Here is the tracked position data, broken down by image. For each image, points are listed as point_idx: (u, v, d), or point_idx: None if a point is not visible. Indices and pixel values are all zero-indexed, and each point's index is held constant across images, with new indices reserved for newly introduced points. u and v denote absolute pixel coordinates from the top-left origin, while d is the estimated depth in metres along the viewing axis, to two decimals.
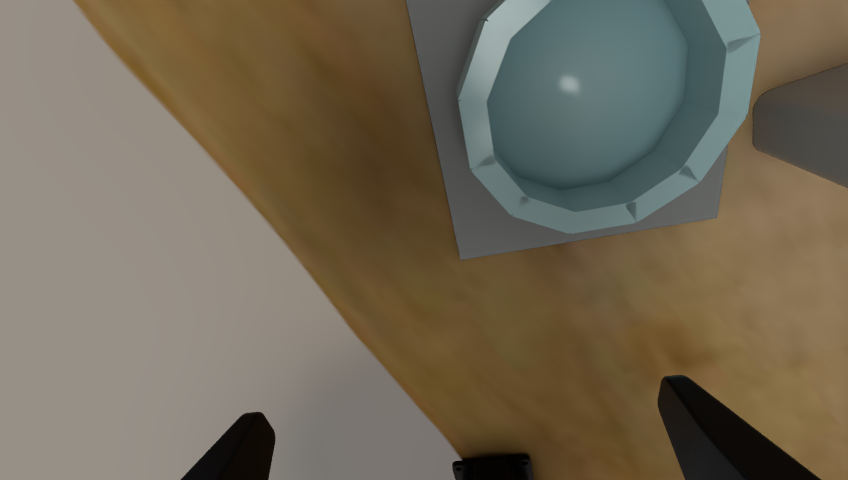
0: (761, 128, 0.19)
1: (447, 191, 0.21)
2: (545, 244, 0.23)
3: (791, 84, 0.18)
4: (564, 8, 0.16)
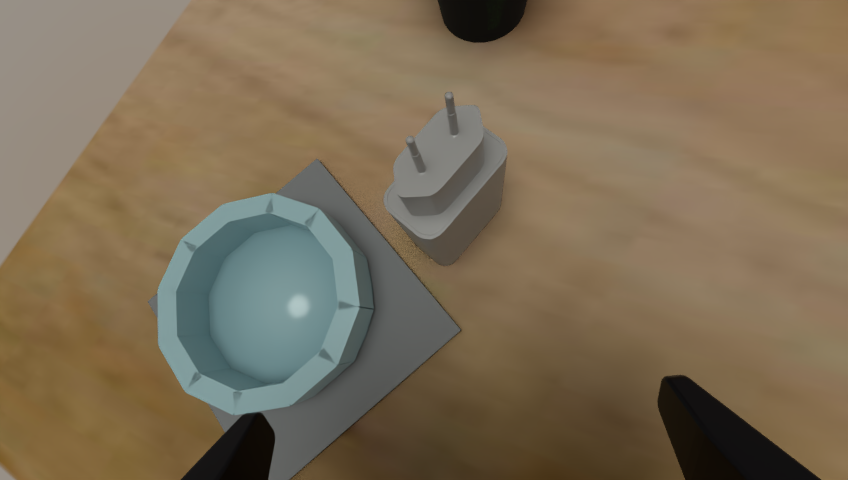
0: (424, 251, 0.23)
1: (224, 429, 0.23)
2: None
3: None
4: (238, 260, 0.24)
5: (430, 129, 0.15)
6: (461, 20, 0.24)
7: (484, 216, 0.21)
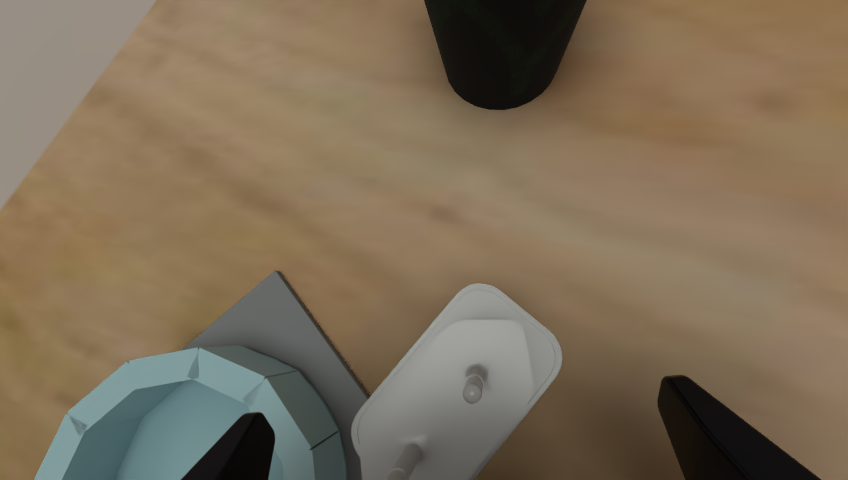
0: None
1: None
2: None
3: None
4: (160, 423, 0.17)
5: (430, 365, 0.08)
6: (473, 85, 0.18)
7: None
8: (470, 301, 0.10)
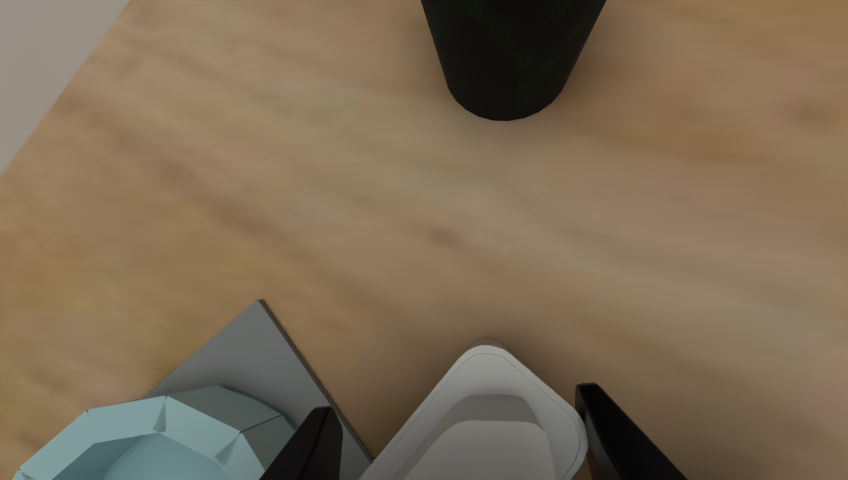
0: None
1: None
2: None
3: None
4: (129, 472, 0.15)
5: None
6: (476, 94, 0.16)
7: None
8: (475, 367, 0.09)
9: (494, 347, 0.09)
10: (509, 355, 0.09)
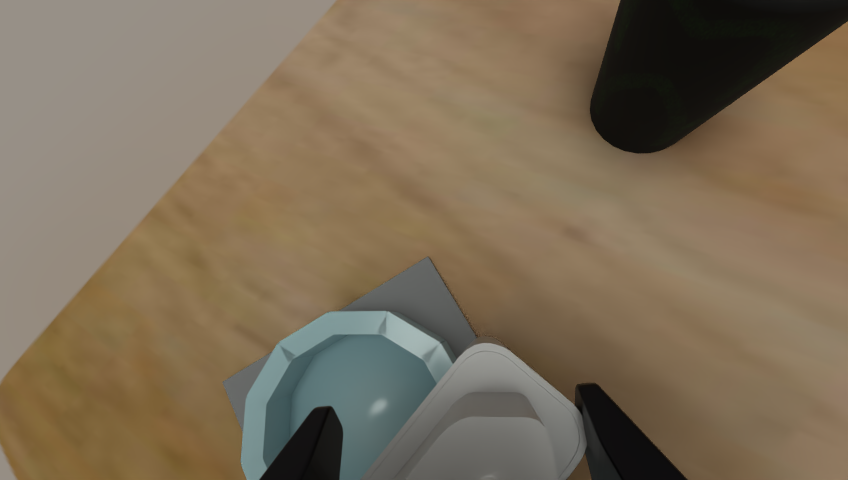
0: None
1: None
2: None
3: None
4: (329, 362, 0.22)
5: (429, 476, 0.06)
6: (622, 132, 0.21)
7: None
8: (476, 365, 0.09)
9: (494, 345, 0.09)
10: (509, 352, 0.09)
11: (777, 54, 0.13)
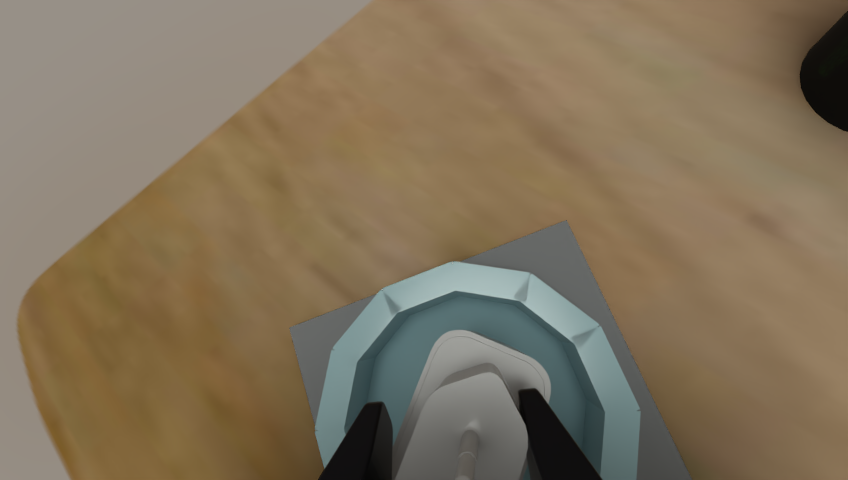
0: None
1: None
2: None
3: None
4: (427, 326, 0.17)
5: (423, 443, 0.08)
6: None
7: None
8: (446, 351, 0.10)
9: (456, 330, 0.10)
10: (470, 333, 0.10)
11: None
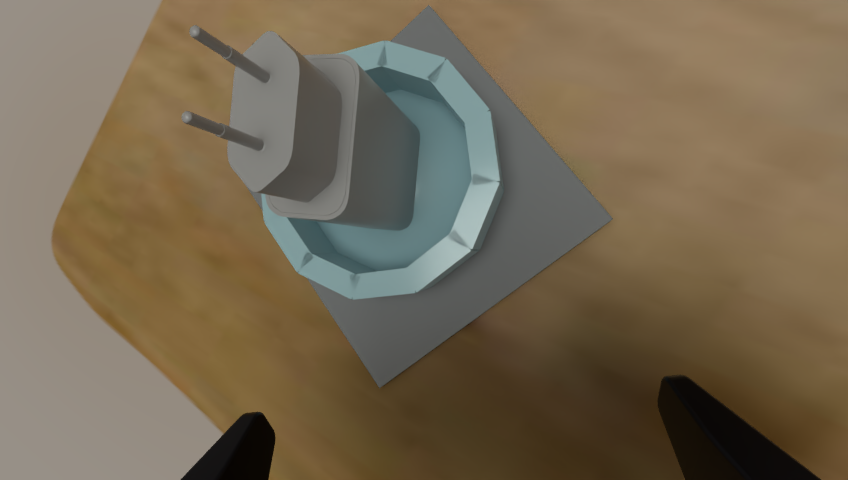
0: (376, 228, 0.19)
1: (333, 316, 0.21)
2: (455, 332, 0.20)
3: None
4: None
5: (240, 94, 0.11)
6: None
7: (403, 151, 0.17)
8: None
9: None
10: None
11: None
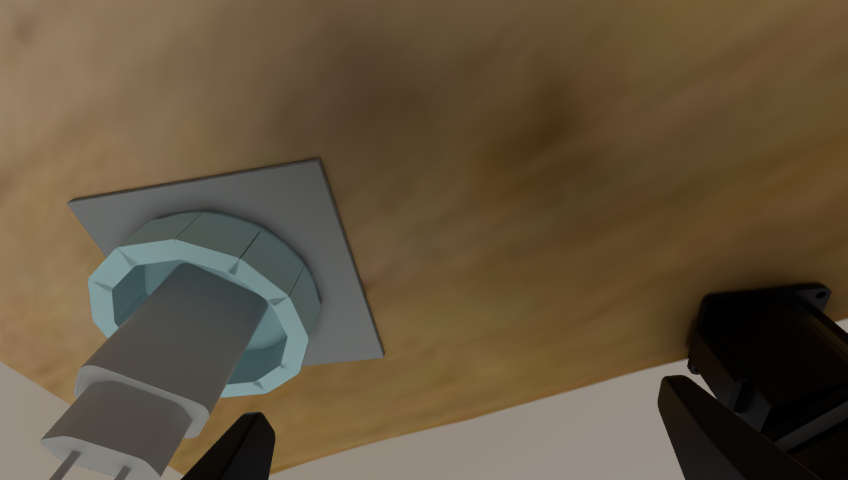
0: None
1: (320, 363, 0.27)
2: (365, 300, 0.24)
3: None
4: None
5: (86, 465, 0.16)
6: None
7: (194, 301, 0.21)
8: None
9: (76, 395, 0.17)
10: (74, 391, 0.17)
11: None
